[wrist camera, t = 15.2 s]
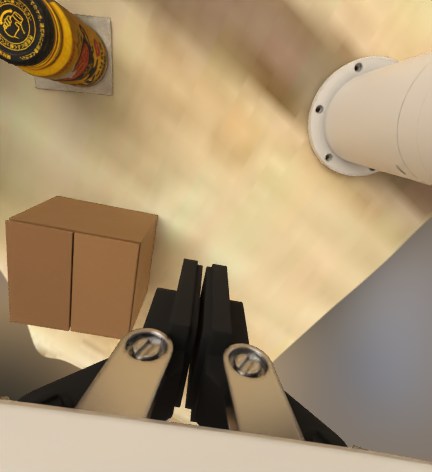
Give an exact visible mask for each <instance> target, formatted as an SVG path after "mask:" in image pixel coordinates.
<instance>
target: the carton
mask: <svg viewBox="0 0 432 472" xmlns="http://www.w3.org/2000/svg"><path fill="white" fill-rule="evenodd" d="M157 218H158V215H154V214H149V213H143V212H138V211H133V210H128V209H123V208H117V207H112V206H107V205H102V204H97V203H91V202H86V201H81V200H76V199H70V198H65V197H60V196H56V197H54V198H52V199H50V200H47V201H45V202H43V203H41V204H39V205H37V206H34V207H32V208H30V209H28V210H26V211H24V212H21V213H19V214H17V215H15V216H13V217H11V218H9V220H6V221H5V223H6V245H7V266H8V287H9V309H10V322H15V323H22V324H28V325H34V326H40V327H46V328H53V329H59V330H65V331H69V330H70V327H71V306H72V280H73V254H74V233H75V232H77V233H83V234H88V235H93V236H98V237H104V238H109V239H114V240H120V241H125V242H130V243H136V244H139V252H138V260H137V268H136V276H135V284H134V292H133V301H132V309H131V317H130V325H129V332H131V331H132V329H133V326H134V324H135V321H136V319H137V316H138V314H139V311H140V309H141V306H142V304H143V301H144V299H145V296H146V294H147V289H148V282H149V275H150V268H151V261H152V254H153V246H154V239H155V232H156V225H157Z"/></svg>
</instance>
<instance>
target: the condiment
mask: <svg viewBox="0 0 432 472" xmlns="http://www.w3.org/2000/svg"><path fill="white" fill-rule="evenodd" d="M0 58H1V59H3V60H4V61H6V62H8V63H9V64H13V65H15V66H18V67H19V68H20V69H22V70H23V71H25V72H27V73H29V74H31V75H34V76H35V83H36V88H42V89H53V90H63V91H73V92H83V93H93V94H103V95H113V86H112V84H113V82H112V48H111V26H110V18H105V17H94V16H85V15H77V14H72V13H70V12H69V11H68V10H66V9H65V8H64V7H62V6H61V5H60V4H58V3H57V2H56V1H54V0H0Z"/></svg>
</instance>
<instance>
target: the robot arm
mask: <svg viewBox="0 0 432 472" xmlns="http://www.w3.org/2000/svg"><path fill="white" fill-rule="evenodd" d="M355 66H356V67H357V70H356V71H355V69H354V67H355ZM317 107H318V108H319V111H318V112H316V108H317ZM308 136H309V141H310V144H311V147H312V149H313V151H314V153H315V155H316V156H317V157H318V159H319V160H320V161H321V162H322V163H323V164H324V165H325V166H326V167H328V168H330V169H331V170H333V171H335V172H338V173H340V174H344V175H348V176H365V175H370V174H373V173H376V172H379V171H383V172H386V173H390V174H393V175H397V176H400V177H404V178H407V179H411V180H414V181H418V182H421V183H425V184H428V185H432V51H430V52H427V53H424V54H421V55H418V56H415V57H412V58H409V59H406V60H403V61H400V62H399V61H397V60H394V59H391V58H389V57H382V56H371V57H364V58H361V59H357V60H354V61H352V62H350V63H348V64H346V65H344V66H342V67H341V68H339V69H338V70H336V71H335V72H334V73H333V74H332V75H331V76H330V77H328V78H327V79H326V81H325V82H324V83H323V85H322V86H321V87H320V88H319V90H318V92H317V94H316V96H315V97H314V99H313V102H312V105H311V108H310V111H309V117H308ZM326 155H328V158H327V159H325V157H326ZM197 264H198V261H195V260H189V259H184V262H183V266H182V270H181V275H180V279H179V284H178V288H177V291H175V290H169V289H163V288H157V290H156V292H155V295H154V298H153V301H152V304H151V307H150V310H149V312H148V315H147V318H146V321H145V324H144V327H143V328H140V329H136V330H133V331H131V332H129V333H127V334H126V335H125V336H124V337H123V338H122V339H121V340H120V342H119V343H118V345H117V346H116V348H115V349H114V351H113V352H112V354H111V355H110V357H109V358H107V359H105V360H103V361H100V362H98V363H96V364H94V365H91V366H89V367H87V368H84V369H82V370H80V371H77V372H75V373H73V374H71V375H68V376H66V377H64V378H61V379H59V380H57V381H55V382H52V383H50V384H47V385H45V386H43V387H41V388H39V389H36V390H34V391H32V392H30V393H28V394H26V395H24V396H23V397H21V398H20V399H19V400H18V401H10V400H9V397H0V472H432V462H429V461H424V460H419V459H414V458H409V457H403V456H398V455H392V454H387V453H381V452H374V451H369V450H366V449H363V448H360V447H358V446H355V445H354V446H353V447H352V448H349V447H347V445H346V444H345V442H344V441H343V440H342V439H341V438H340V437H339V436H338V435H337V434H336V433H334V432H333V431H332V430H331V429H330V428H328V427H327V426H326V425H325V424H323V423H322V422H321V421H320V420H319V419H318V418H316V417H315V416H314V415H313V414H312V413H310V412H309V411H308V410H307V409H306V408H304V407H303V406H302V405H301V404H300V403H298V402H297V401H296V400H295V399H293V398H292V397H291V396H290V395H289V394H287V393H286V392H285V391H284V390H283V387H282V385H281V383H280V380H279V377H278V375H277V373H276V370H275V368H274V366H273V363H272V361H271V360H270V358H269V357H268V356H267V355H266V354H265V353H264V352H263V351H262V350H260V349H259V348H257V347H254V346H252V345H249V340H248V333H247V327H246V320H245V314H244V308H243V303H242V302H238V301H232V300H230V299H229V287H228V275H227V266H222V265H216V264H213V265H212V267H207V268H206V272H205V277H204V281H203V286H202V291H201V280H202V268H203V266H201V265H197ZM200 291H201V295H200ZM189 364H190V366H189ZM188 369H189V375H188V385H187V395H186V404H185V408H187V409H191V420H190V421H192V422H197V423H198V424H199V426H197V425H190V424H183V423H176V422H168V421H166V420H168V419H169V418H171V417H172V415H173V411H174V407H180V405H181V400H182V396H183V391H184V387H185V382H186V378H187V373H188Z"/></svg>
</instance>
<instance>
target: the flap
mask: <svg viewBox="0 0 432 472" xmlns="http://www.w3.org/2000/svg"><path fill="white" fill-rule="evenodd" d="M138 252H139V244H136V243H130V242H125V241H120V240H114V239H109V238H104V237H98V236H93V235H88V234H83V233H77V232H75V233H74V254H73V280H72V306H71V331H74V332H80V333H86V334H92V335H98V336H104V337H110V338H116V339H122V338H123V337H124V336H125V335H126V334H127V333H129V325H130V317H131V309H132V301H133V292H134V284H135V276H136V268H137V260H138Z"/></svg>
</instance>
